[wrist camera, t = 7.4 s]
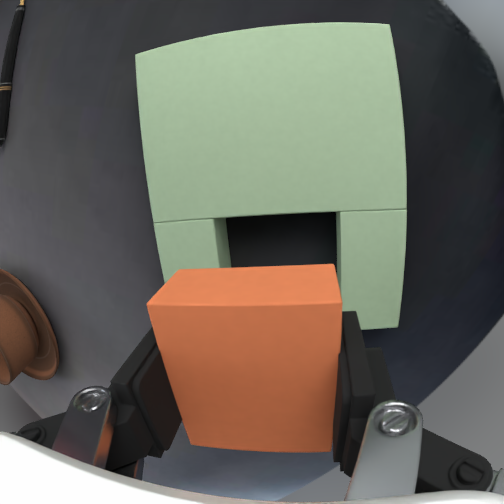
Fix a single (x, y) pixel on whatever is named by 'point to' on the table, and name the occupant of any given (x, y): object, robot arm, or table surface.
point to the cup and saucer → (24, 334)
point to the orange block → (252, 354)
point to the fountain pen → (9, 70)
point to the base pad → (280, 148)
